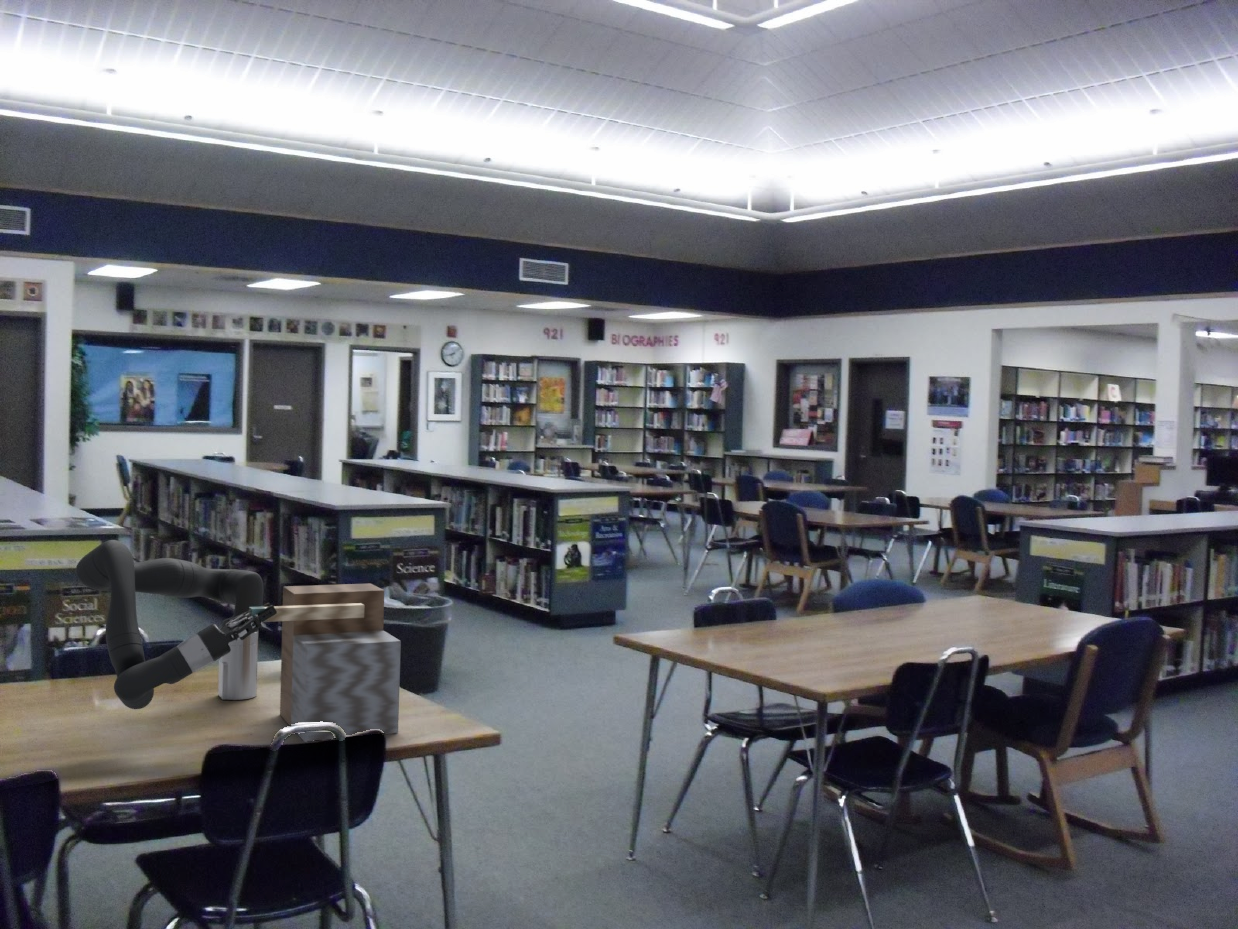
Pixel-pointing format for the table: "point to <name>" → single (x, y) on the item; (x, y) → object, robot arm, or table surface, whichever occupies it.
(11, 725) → the table surface
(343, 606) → the beech bar
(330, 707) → the pedestal
